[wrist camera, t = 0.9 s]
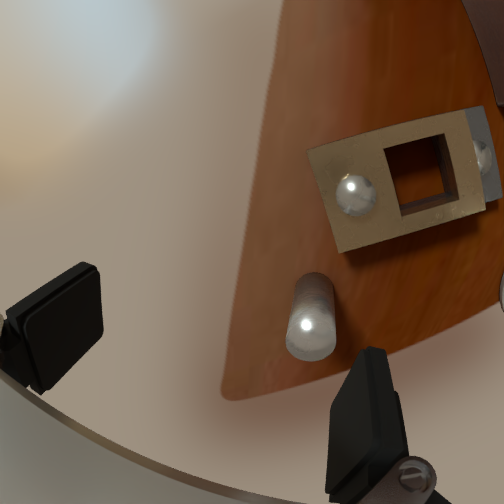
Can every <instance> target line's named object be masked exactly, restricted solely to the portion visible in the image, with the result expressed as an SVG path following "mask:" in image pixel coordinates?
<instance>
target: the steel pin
mask: <svg viewBox="0 0 504 504" xmlns="http://www.w3.org/2000/svg"><path fill="white" fill-rule="evenodd" d="M286 346H287V348H288V350H289V352H290V353H291V354H292V355H293V356H295V357H296V358H298V359H301V360H304V361H318V360H321V359H324V358H326V357H327V356H329V355H330V354H331V353H332V352H333V350H334V348H335V346H336V325H335V306H334V291H333V284H332V282H331V280H330V279H329V278H328V277H327V276H325V275H324V274H321V273H317V272H312V273H307V274H305V275H303V276H302V277H301V278H300V279H299V280H298V281H297V283H296V286H295V292H294V298H293V303H292V309H291V314H290V320H289V325H288V330H287V335H286Z"/></svg>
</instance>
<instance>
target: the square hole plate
mask: <svg viewBox="0 0 504 504" xmlns="http://www.w3.org/2000/svg"><path fill="white" fill-rule="evenodd" d="M430 136H431V138H432V142H433V145H434V149H435V153H436V156H437V160H438V164H439V168H440V173H441V177H442V181H443V186H444V191H445V193H441V194H438V195H435V196H431V197H428V198H424V199H421V200H417V201H414V202H410V203H407V204H403V205H400V206H399V204H398V200H397V196H396V192H395V189H394V185H393V181H392V177H391V174H390V170H389V167H388V163H387V160H386V157H385V153H384V150H383V149H384V148H387V147H391V146H395V145H398V144H402V143H406V142H410V141H414V140H418V139H422V138H426V137H430ZM306 152H307V155H308V158H309V161H310V164H311V167H312V169H313V172H314V175H315V178H316V181H317V184H318V187H319V190H320V193H321V196H322V199H323V202H324V206H325V209H326V212H327V215H328V218H329V222H330V225H331V228H332V231H333V235H334V238H335V242H336V245H337V248H338V252H339V253H342V252H346V251H349V250H353V249H356V248H360V247H363V246H367V245H370V244H374V243H377V242H381V241H384V240H388V239H391V238H394V237H398V236H401V235H405V234H408V233H411V232H415V231H418V230H421V229H425V228H428V227H431V226H435V225H438V224H441V223H445V222H448V221H451V220H454V219H458V218H461V217H464V216H467V215H470V214H474V213H477V212H480V211H483V210H486V207H485V203H486V202H490V201H493V200H496V199H499V198H502V197H503V196H502V189H501V182H500V176H499V171H498V165H497V160H496V155H495V150H494V146H493V141H492V137H491V133H490V129H489V125H488V122H487V118H486V115H485V111H484V108H483V106H477V107H471V108H466V109H461V110H456V111H451V112H446V113H442V114H437V115H433V116H428V117H424V118H420V119H415V120H411V121H407V122H403V123H399V124H395V125H391V126H387V127H384V128H380V129H376V130H372V131H369V132H365V133H361V134H358V135H354V136H351V137H347V138H344V139H341V140H337V141H334V142H331V143H327V144H324V145H321V146H318V147H314V148H311V149H308V150H306Z"/></svg>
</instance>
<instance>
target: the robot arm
mask: <svg viewBox="0 0 504 504" xmlns="http://www.w3.org/2000/svg"><path fill="white" fill-rule="evenodd" d="M500 304H501V308H502V310H503V312H504V274H503V276H502V280H501V285H500ZM6 315H7V319H6V320H4V319H3V316H2V315H1V314H0V504H304V503H299V502H293V501H287V500H282V499H277V498H273V497H268V496H263V495H260V494H255V493H251V492H247V491H243V490H239V489H235V488H232V487H228V486H224V485H221V484H218V483H214V482H211V481H208V480H205V479H202V478H199V477H196V476H193V475H190V474H187V473H184V472H182V471H179V470H176V469H174V468H171V467H168V466H166V465H163V464H161V463H159V462H156V461H154V460H151V459H149V458H147V457H145V456H142V455H140V454H138V453H136V452H133V451H131V450H129V449H127V448H125V447H123V446H121V445H119V444H117V443H115V442H113V441H111V440H109V439H107V438H105V437H103V436H101V435H99V434H97V433H95V432H94V431H92V430H90V429H88V428H87V427H85V426H83V425H81V424H80V423H78V422H76V421H75V420H73V419H71V418H70V417H68V416H66V415H64V414H63V413H62V412H60V411H58V410H57V409H55V408H54V407H52V406H50V405H49V404H48V403H46V402H45V401H43V400H41V399H40V398H39V397H37V396H36V395H35V394H33V393H32V392H30V391H29V390H28V389H26V388H27V387H28V386H29V385H30V387H31V389H32V390H34V391H35V392H37V393H38V394H39V395H42V394H43V393H44V392H45V391H46V390H50V389H51V388H52V387H53V386H54V385H55V384H56V383H57V382H58V381H59V380H60V379H61V378H62V377H63V376H64V375H65V374H66V373H67V372H68V371H69V370H70V369H71V368H72V366H73V365H74V364H75V363H76V362H77V361H78V360H79V359H80V358H81V357H82V356H83V355H84V354H85V353H86V352H87V351H88V350H89V349H90V348H91V347H92V346H93V345H94V344H95V343H96V342H97V341H98V340H99V339H100V338H101V337H102V335H103V331H104V328H103V317H102V303H101V286H100V273H99V272H98V271H97V267H95V266H94V265H91V264H88V263H86V262H80V263H78V264H77V265H75V266H73V267H72V268H70V269H69V270H67V271H65V272H64V273H62V274H61V275H59V276H57V277H56V278H54V279H53V280H51V281H50V282H48V283H46V284H45V285H43V286H42V287H40V288H39V289H37V290H36V291H34V292H33V293H31V294H30V295H28V296H27V297H25V298H24V299H22V300H21V301H19V302H18V303H16V304H15V305H13V306H12V307H10V308H9V309H8V310H6ZM436 480H437V477H436V473H435V470H434V469H433V467H432V465H431V464H430V463H429V462H428V461H426V460H424V459H422V458H420V457H416V456H409V451H408V445H407V438H406V432H405V426H404V420H403V415H402V409H401V404H400V400H399V395H398V393H397V392H396V391H394V388H393V383H392V379H391V373H390V369H389V364H388V359H387V355H386V351H385V350H384V349H380V348H375V347H371V346H369V347H367V348H366V350H364V349H362V350H361V351H360V352H359V354H358V356H357V358H356V360H355V362H354V364H353V366H352V368H351V370H350V372H349V374H348V375H347V377H346V379H345V381H344V383H343V385H342V387H341V388H340V390H339V392H338V394H337V396H336V397H335V399H334V401H333V403H332V405H331V409H330V425H329V444H328V459H327V473H326V484H325V493H327V494H330V496H329V502H331V503H340V504H451V503H450V502H449V501H448V500H446V499H445V498H444V497H443V496H442V495H440V494H439V493H438V492H437V491H436V490H434V488H435V486H436Z"/></svg>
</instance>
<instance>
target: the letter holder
mask: <svg viewBox="0 0 504 504" xmlns="http://www.w3.org/2000/svg"><path fill="white" fill-rule="evenodd" d="M461 1H462V3H463V5H464V7H465V9H466V12H467V14H468V16H469V19H470V22H471V24H472V26H473V29H474V31H475V34H476V37H477V39H478V42H479V45H480V47H481V50H482V53H483V57H484V59H485V62H486V66H487V69H488V72H489V76H490V79H491V83H492V86H493V90H494V94H495V98H496V102H497V106H499V107H502V106H504V0H461Z"/></svg>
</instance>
